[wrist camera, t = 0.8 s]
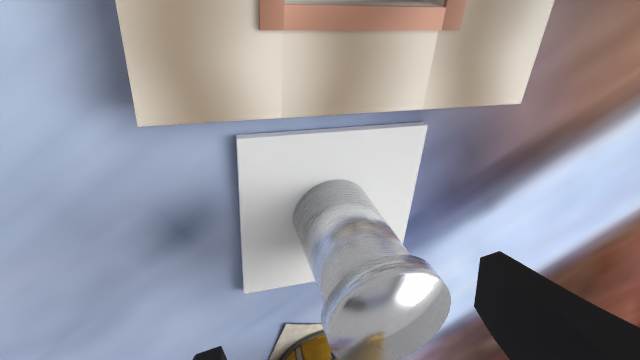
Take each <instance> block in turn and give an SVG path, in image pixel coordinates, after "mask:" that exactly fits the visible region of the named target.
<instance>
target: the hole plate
mask: <svg viewBox="0 0 640 360" xmlns="http://www.w3.org/2000/svg"><path fill="white" fill-rule="evenodd" d="M115 2H116V8H117V14H118V19H119V25H120V30H121V36H122V42H123V47H124V53H125V58H126V64H127V69H128V75H129V81H130V86H131V92H132V97H133V103H134V109H135V114H136V120H137V125H138V127H142V126H159V125H175V124H192V123H208V122H225V121H241V120H258V119H274V118H291V117H307V116H324V115H340V114H357V113H373V112H390V111H406V110H423V109H439V108H456V107H472V106H489V105H505V104H521V101H522V98H523V95H524V92H525V89H526V86H527V83H528V80H529V77H530V74H531V71H532V68H533V65H534V61H535V58H536V55H537V52H538V49H539V46H540V43H541V40H542V37H543V34H544V31H545V28H546V25H547V22H548V19H549V16H550V12H551V9H552V6H553V3H554V0H115Z"/></svg>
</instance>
